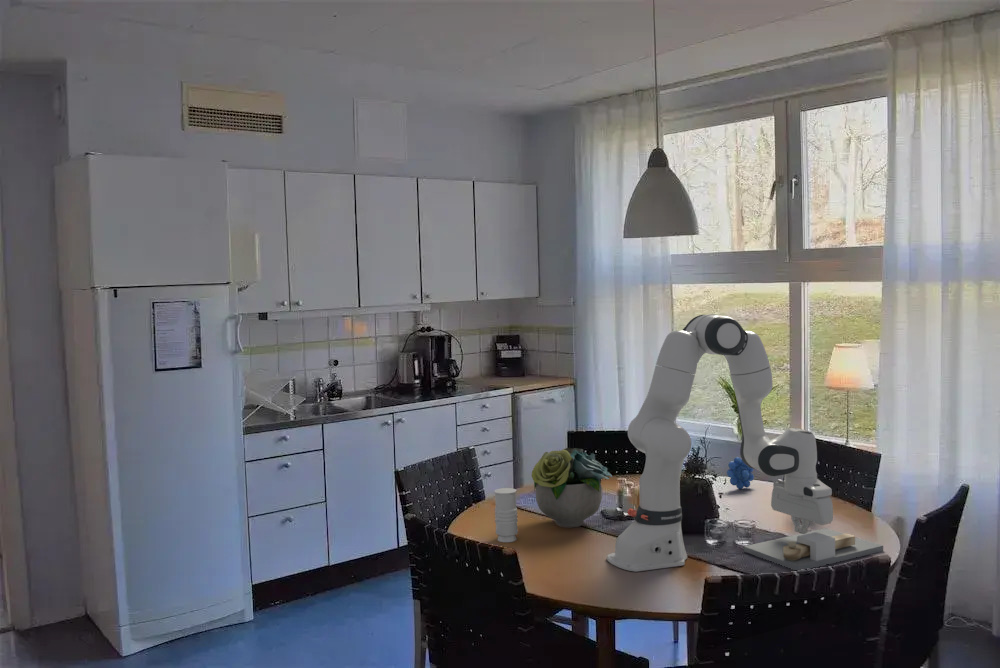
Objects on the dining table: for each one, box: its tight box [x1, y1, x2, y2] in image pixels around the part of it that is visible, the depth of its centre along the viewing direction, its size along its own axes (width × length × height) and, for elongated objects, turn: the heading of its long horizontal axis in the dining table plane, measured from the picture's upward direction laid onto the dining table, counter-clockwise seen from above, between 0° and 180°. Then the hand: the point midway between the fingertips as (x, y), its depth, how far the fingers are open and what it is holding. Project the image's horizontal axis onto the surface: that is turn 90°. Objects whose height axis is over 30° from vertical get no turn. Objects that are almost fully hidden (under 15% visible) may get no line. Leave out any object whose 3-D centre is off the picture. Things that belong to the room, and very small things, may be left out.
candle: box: [493, 487, 519, 543], centre depth 257 cm, size 7×7×15 cm
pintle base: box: [743, 527, 884, 571], centre depth 236 cm, size 32×20×6 cm, turn 117°
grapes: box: [726, 456, 755, 490], centre depth 307 cm, size 12×7×12 cm, turn 113°
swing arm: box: [783, 533, 856, 560], centre depth 230 cm, size 24×4×2 cm, turn 116°
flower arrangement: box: [531, 447, 613, 529], centre depth 270 cm, size 25×25×24 cm
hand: (800, 532), depth 242 cm, fingers closed
